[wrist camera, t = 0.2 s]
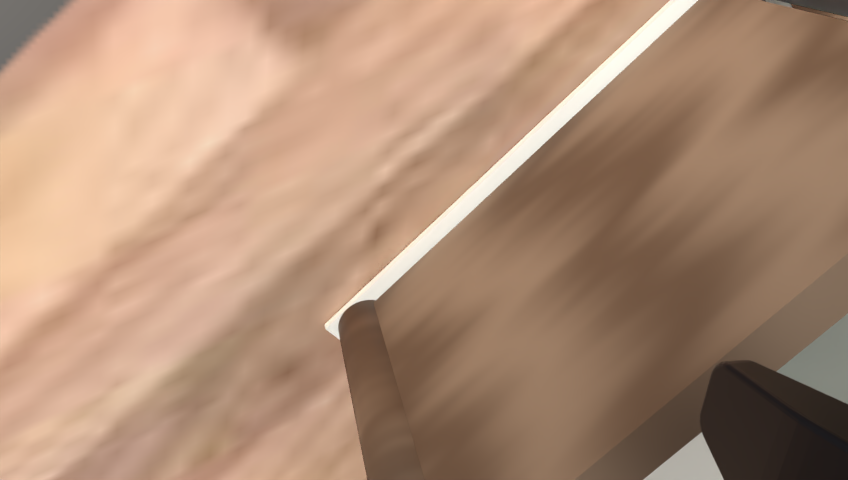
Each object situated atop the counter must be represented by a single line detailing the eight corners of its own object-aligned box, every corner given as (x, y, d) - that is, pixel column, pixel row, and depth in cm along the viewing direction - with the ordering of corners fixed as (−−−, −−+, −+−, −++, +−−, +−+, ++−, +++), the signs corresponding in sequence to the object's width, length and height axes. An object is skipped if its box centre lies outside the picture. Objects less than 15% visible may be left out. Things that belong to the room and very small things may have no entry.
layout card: (629, 557, 34) (633, 564, 33) (324, 324, 25) (325, 330, 25) (959, 295, 31) (967, 299, 30) (742, -68, 22) (750, -67, 22)
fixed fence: (776, -109, 22) (1266, -96, 11) (811, -45, 23) (1288, 19, 12) (320, 320, 25) (372, 645, 14) (370, 359, 26) (452, 686, 15)
